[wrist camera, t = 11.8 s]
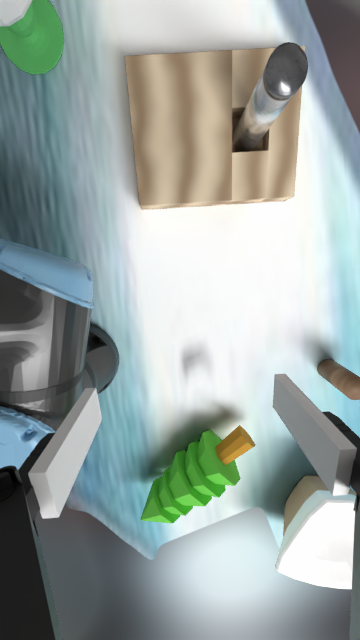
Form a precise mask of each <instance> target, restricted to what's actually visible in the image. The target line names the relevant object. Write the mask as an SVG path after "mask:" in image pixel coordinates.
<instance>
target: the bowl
mask: <svg viewBox="0 0 360 640" xmlns="http://www.w3.org/2000/svg"><path fill="white" fill-rule="evenodd" d="M356 494H357V493H356V492H354V491H352V490H351V489H349V493H348V495H337V496H332V494H331V493H330V491H329V490H328V488H327V487H326V485H325V484H324V482H323V481H322V479H321V478H320V476H311V475H306V476H304V477H303V478H302V479H301V480H300V481H299V482H298V484H297V485H296V487H295V488H294V490H293V491H292V493H291V494H290V496H289V497H288V499H287V501H286V504H285V513H284V531H283V540H282V544H281V548H280V551H279V555H278V558H277V562H276V570H277V571H278V572H280V573H282V574H284V575H287V576H289V577H291V578H293V579H296V580H300V581H303V582H307V583H310V584H314V585H318V586H325V587H333V588H340V589H352V570H353V547H354V524H355V511H354V510H353V509H354V504H355V499H356Z"/></svg>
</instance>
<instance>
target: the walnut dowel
mask: <svg viewBox="0 0 360 640" xmlns="http://www.w3.org/2000/svg"><path fill="white" fill-rule="evenodd" d="M317 370H318V373H319V374H320V375H321V376H322V377H323V378H325V379H326V380H327V381H328V382H330V383H331V384H332V385H333V386H335V387H336V388H337V389H338V390H340V391H341V392H342V393H343V394H345V395H346V396H347V397H348V398H350V399H352V400H359V399H360V377H359V376H357V375H355V374H354V373H352V372H351V371H349V370H348V369H346V368H345V367H343V366H341V365H340V364H338V363H337V362H335V361H334V360H331V359H326V360H324V361H322V362H321V363H320V364H319V365H318V369H317Z"/></svg>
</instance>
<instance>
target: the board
mask: <svg viewBox="0 0 360 640" xmlns="http://www.w3.org/2000/svg"><path fill="white" fill-rule="evenodd" d="M300 47H301V48H302V49H303V51H304V49H305V46H300ZM275 49H276V48H261V49H243V50H225V51H207V52H189V53H171V54H153V55H135V56H125V65H126V75H127V85H128V94H129V104H130V114H131V124H132V134H133V144H134V154H135V164H136V174H137V184H138V194H139V204H140V207H141V209H142V210H148V209H164V208H180V207H196V206H213V205H229V204H245V203H261V202H277V201H286V200H288V199H290V198H292V197H294V191H295V177H296V163H297V149H298V135H299V120H300V106H301V92H302V86H301V87H300V88H299V90H298V91H297V92H296V94H295V95H294V96H293V97H292V98H291V100H290V101H289V102H288V104H287V105H286V106H285V108H284V109H283V110H282V112H281V113H280V114H279V116H278V117H277V118H276V120H275V121H274V122H273V124H272V125H271V126H270V128H269V129H268V130H267V132H266V133H265V135H264V136H263V137H262V139H261V140H260V141H259V143H258V144H257V145H256V147H255V148H254V149H253V150H252V151H251V152H238V151H237V150H236V149H235V147H234V145H233V142H232V137H233V133H234V130H235V128H236V126H237V124H238V122H239V120H240V118H241V116H242V114H243V112H244V110H245V108H246V106H247V104H248V102H249V100H250V97H251V95H252V93H253V91H254V89H255V87H256V85H257V83H258V81H259V79H260V77H261V75H262V73H263V71H264V68H265V66H266V63H267V61H268V59H269V57H270V55H271V54H272V52H273V51H274V50H275Z"/></svg>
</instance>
